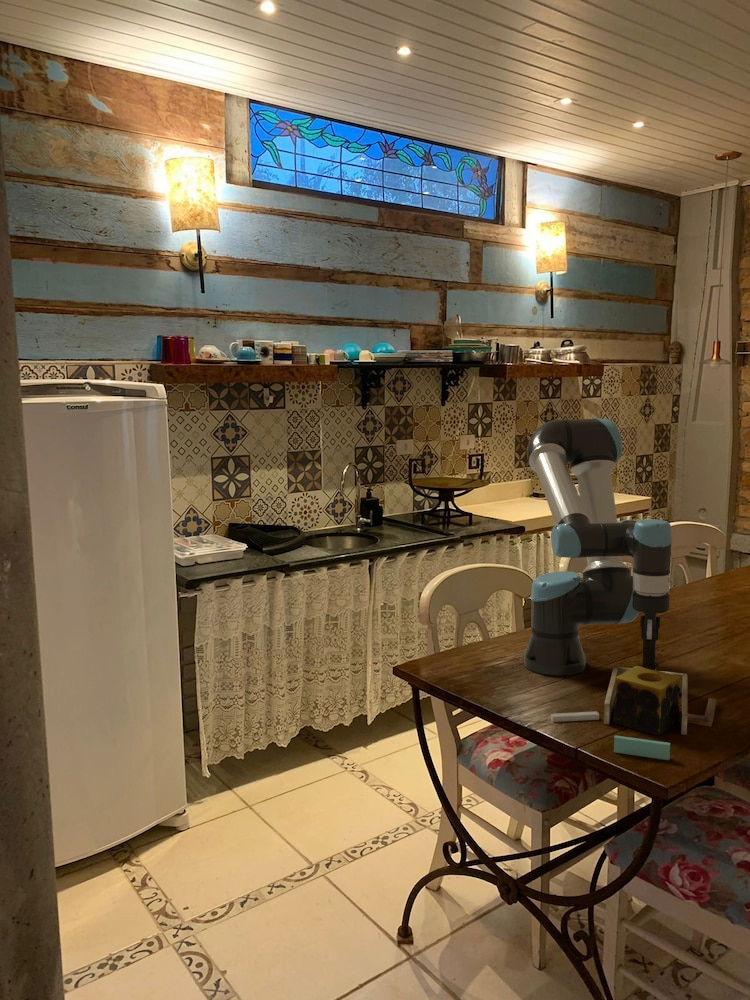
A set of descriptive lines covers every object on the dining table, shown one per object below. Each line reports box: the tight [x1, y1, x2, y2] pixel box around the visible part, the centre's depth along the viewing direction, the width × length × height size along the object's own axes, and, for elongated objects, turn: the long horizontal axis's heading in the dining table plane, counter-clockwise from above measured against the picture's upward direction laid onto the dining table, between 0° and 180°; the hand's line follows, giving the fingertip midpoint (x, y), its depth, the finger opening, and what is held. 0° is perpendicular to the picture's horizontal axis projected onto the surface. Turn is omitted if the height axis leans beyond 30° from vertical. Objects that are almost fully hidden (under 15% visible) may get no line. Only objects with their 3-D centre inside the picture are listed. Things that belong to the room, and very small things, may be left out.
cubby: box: [603, 666, 688, 736], centre depth 170 cm, size 16×23×4 cm
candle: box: [612, 665, 681, 736], centre depth 162 cm, size 10×10×10 cm
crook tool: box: [687, 697, 717, 728], centre depth 166 cm, size 5×12×2 cm, turn 152°
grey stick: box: [550, 711, 600, 723], centre depth 165 cm, size 2×10×2 cm, turn 95°
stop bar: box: [613, 735, 671, 761], centre depth 148 cm, size 10×1×3 cm, turn 68°
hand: (648, 696), depth 171 cm, fingers closed
